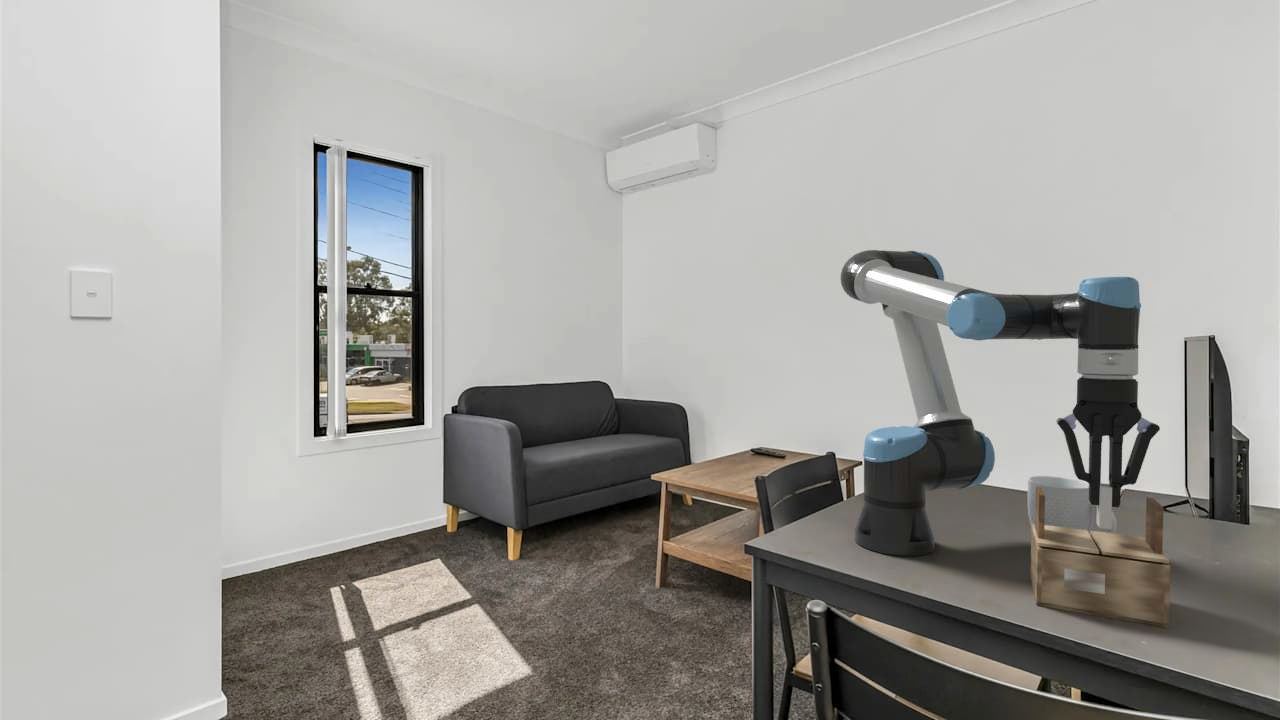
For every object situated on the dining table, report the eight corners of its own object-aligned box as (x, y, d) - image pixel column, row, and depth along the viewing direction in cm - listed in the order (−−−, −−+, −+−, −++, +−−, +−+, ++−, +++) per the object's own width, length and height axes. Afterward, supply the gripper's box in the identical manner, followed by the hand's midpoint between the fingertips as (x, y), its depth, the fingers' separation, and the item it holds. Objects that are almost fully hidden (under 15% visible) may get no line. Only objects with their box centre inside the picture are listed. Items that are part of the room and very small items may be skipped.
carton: (1036, 605, 95) (1037, 548, 95) (1030, 578, 105) (1031, 527, 105) (1168, 628, 87) (1170, 567, 87) (1147, 596, 98) (1149, 541, 97)
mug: (1126, 554, 117) (1128, 487, 116) (1103, 566, 111) (1104, 495, 110) (1041, 533, 129) (1042, 473, 129) (1016, 543, 123) (1017, 480, 123)
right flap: (1102, 554, 91) (1103, 505, 91) (1090, 533, 101) (1091, 488, 100) (1169, 563, 87) (1170, 512, 87) (1150, 540, 97) (1151, 494, 97)
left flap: (1087, 533, 101) (1088, 488, 101) (1099, 554, 91) (1100, 504, 91) (1031, 526, 105) (1032, 483, 104) (1037, 545, 95) (1038, 498, 95)
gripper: (1059, 377, 94) (1056, 526, 95) (1167, 379, 88) (1163, 539, 89) (1053, 374, 101) (1051, 514, 102) (1154, 376, 95) (1150, 525, 95)
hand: (1103, 526), depth 95 cm, fingers closed
